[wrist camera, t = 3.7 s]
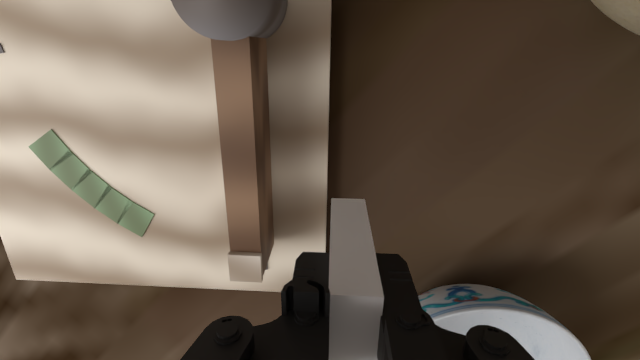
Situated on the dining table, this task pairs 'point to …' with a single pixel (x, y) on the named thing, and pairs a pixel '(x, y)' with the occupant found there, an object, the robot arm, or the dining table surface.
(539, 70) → the dining table surface
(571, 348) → the chinaware
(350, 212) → the robot arm
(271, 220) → the gauge needle
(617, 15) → the planter bowl
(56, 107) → the gauge board
